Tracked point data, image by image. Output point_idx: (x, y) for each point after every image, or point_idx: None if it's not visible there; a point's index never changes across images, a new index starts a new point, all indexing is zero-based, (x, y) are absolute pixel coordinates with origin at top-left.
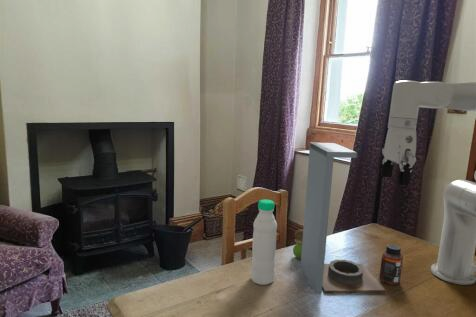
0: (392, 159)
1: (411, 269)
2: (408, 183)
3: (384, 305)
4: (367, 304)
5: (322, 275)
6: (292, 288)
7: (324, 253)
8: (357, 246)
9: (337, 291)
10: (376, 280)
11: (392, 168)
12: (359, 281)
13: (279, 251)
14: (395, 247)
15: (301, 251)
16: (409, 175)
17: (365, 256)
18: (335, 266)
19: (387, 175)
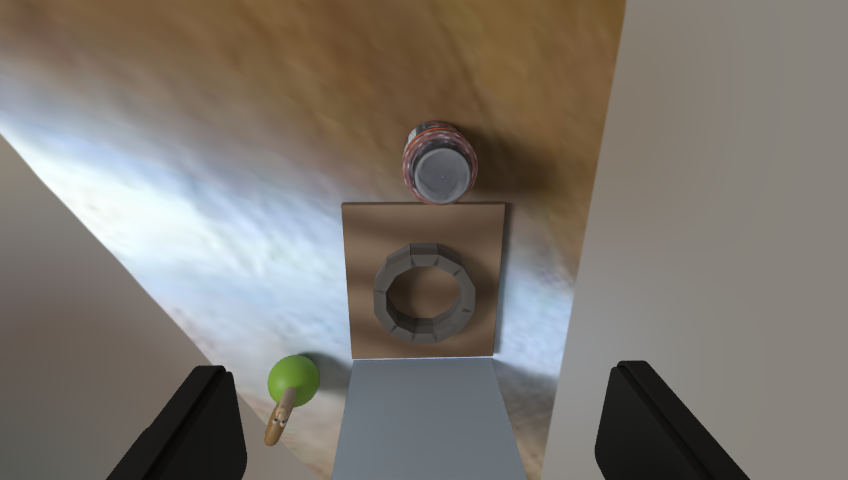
0: None
1: (354, 16)
2: (650, 370)
3: (556, 230)
4: (545, 270)
5: (500, 393)
6: None
7: (517, 447)
8: (170, 149)
9: (494, 327)
10: (450, 205)
11: (167, 475)
12: (464, 264)
13: (262, 408)
14: (451, 173)
15: (315, 389)
16: (729, 463)
17: (260, 155)
18: (393, 312)
19: (230, 426)
